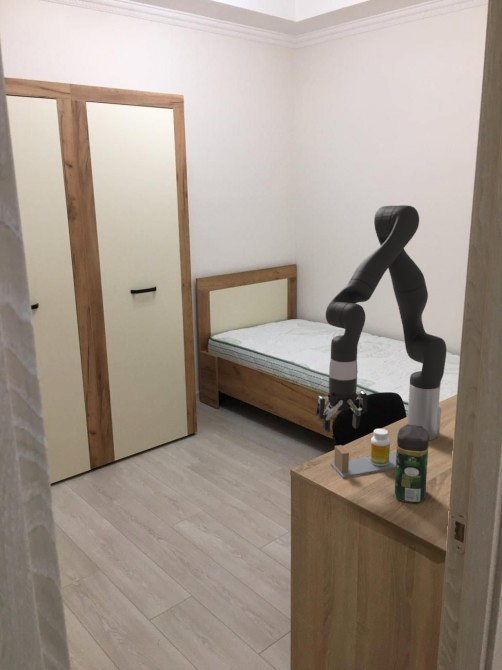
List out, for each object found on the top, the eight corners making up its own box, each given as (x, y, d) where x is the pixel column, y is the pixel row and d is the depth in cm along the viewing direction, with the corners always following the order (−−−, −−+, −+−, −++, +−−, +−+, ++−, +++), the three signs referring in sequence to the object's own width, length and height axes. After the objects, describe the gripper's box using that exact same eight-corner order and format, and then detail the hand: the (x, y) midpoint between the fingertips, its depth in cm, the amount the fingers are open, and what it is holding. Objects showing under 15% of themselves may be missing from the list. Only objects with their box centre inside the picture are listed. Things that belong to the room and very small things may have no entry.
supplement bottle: (389, 467, 164) (390, 436, 161) (369, 465, 165) (371, 434, 162) (389, 458, 169) (390, 428, 166) (370, 456, 170) (371, 426, 167)
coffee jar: (395, 483, 157) (399, 420, 152) (425, 487, 154) (430, 423, 149) (392, 501, 148) (396, 435, 143) (424, 506, 145) (429, 439, 140)
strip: (409, 451, 174) (410, 431, 172) (424, 463, 167) (426, 442, 165) (330, 464, 167) (331, 444, 165) (342, 478, 160) (343, 456, 158)
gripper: (360, 367, 161) (358, 421, 166) (313, 372, 157) (312, 427, 162) (373, 376, 154) (370, 431, 159) (324, 381, 151) (322, 438, 155)
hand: (341, 429), depth 160 cm, fingers open, 8 cm apart
